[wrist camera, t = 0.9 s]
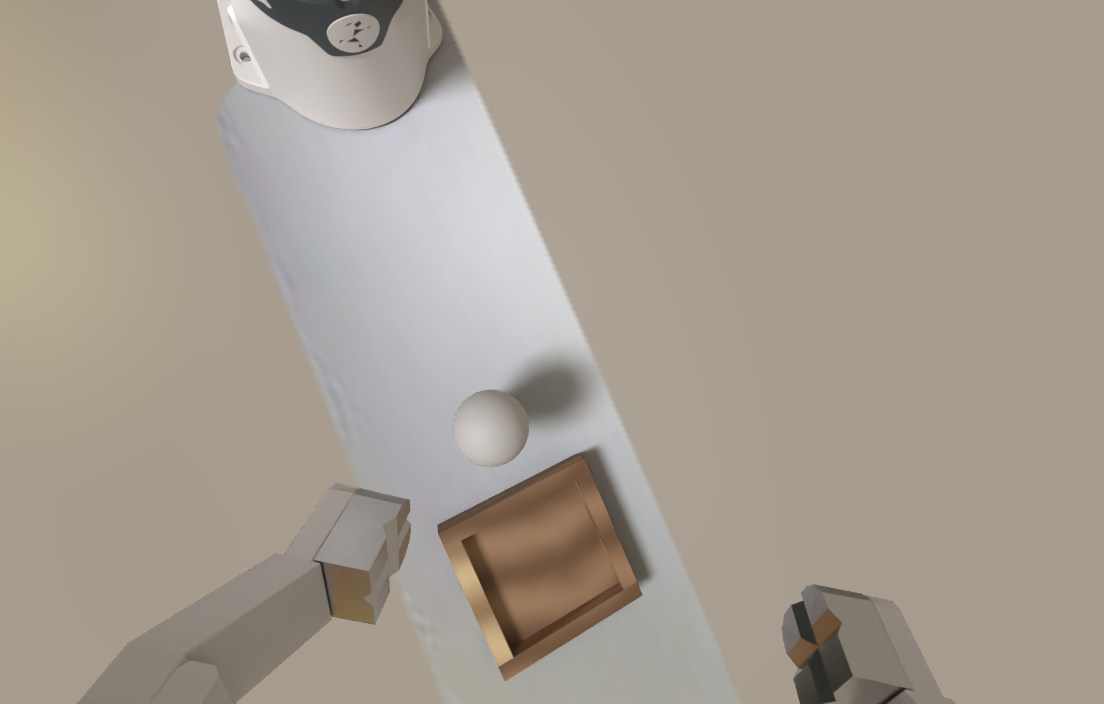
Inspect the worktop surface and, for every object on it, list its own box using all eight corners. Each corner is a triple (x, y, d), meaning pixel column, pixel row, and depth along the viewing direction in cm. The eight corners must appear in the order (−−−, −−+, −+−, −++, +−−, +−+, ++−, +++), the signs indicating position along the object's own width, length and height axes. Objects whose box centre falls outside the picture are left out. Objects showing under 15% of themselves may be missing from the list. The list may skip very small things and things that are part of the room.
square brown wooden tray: (437, 525, 44) (438, 534, 42) (576, 453, 48) (584, 458, 46) (500, 664, 45) (504, 681, 43) (631, 584, 49) (642, 595, 47)
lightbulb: (522, 408, 47) (551, 419, 36) (488, 461, 46) (507, 489, 35) (471, 374, 46) (485, 375, 35) (434, 428, 45) (438, 446, 34)
